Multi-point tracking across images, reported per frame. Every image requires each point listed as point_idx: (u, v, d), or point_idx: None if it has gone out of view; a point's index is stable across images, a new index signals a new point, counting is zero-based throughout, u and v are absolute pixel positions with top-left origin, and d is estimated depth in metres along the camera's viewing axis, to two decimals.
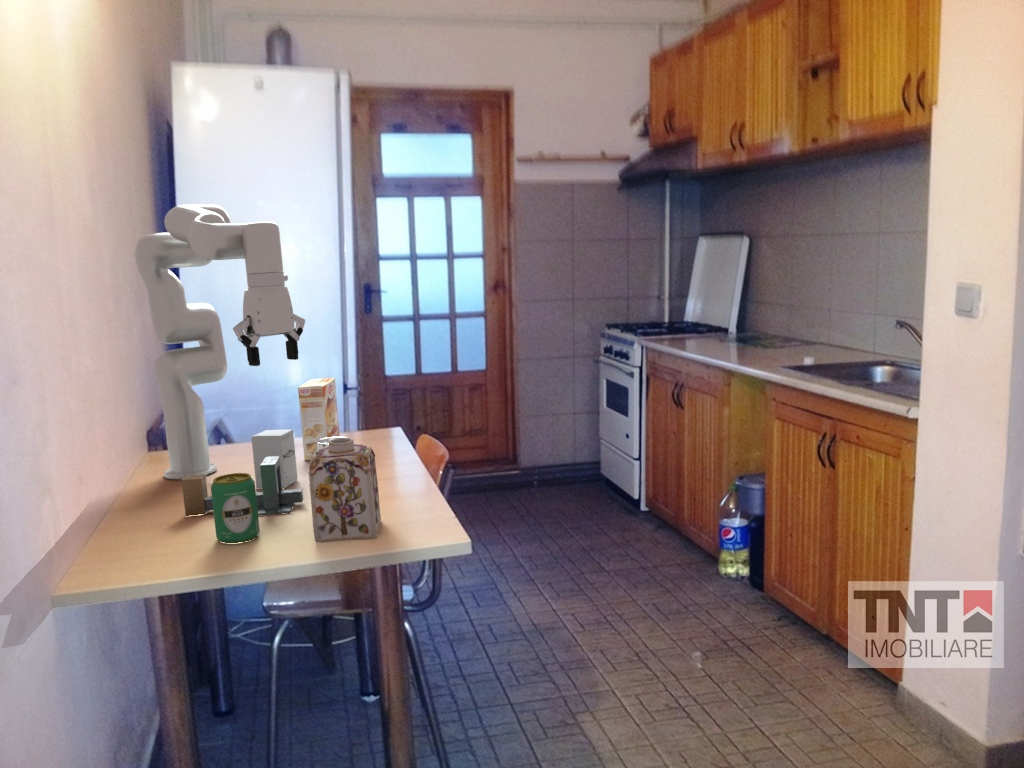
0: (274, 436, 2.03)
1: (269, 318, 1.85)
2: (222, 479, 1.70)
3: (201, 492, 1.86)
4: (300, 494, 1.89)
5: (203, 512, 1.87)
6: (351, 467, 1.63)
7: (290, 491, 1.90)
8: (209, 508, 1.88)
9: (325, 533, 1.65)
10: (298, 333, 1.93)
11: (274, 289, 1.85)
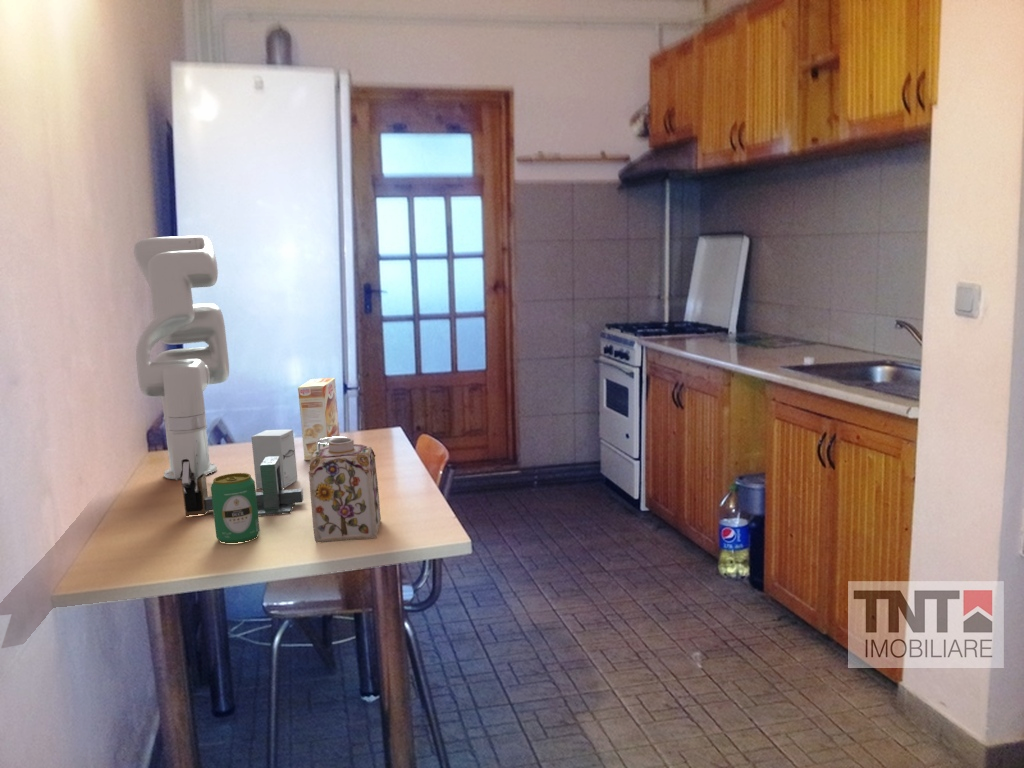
0: (274, 436, 2.03)
1: (200, 459, 1.85)
2: (222, 479, 1.70)
3: (201, 492, 1.86)
4: (300, 494, 1.89)
5: (203, 512, 1.87)
6: (351, 467, 1.63)
7: (290, 491, 1.90)
8: (209, 508, 1.88)
9: (325, 533, 1.65)
10: None
11: (200, 429, 1.86)
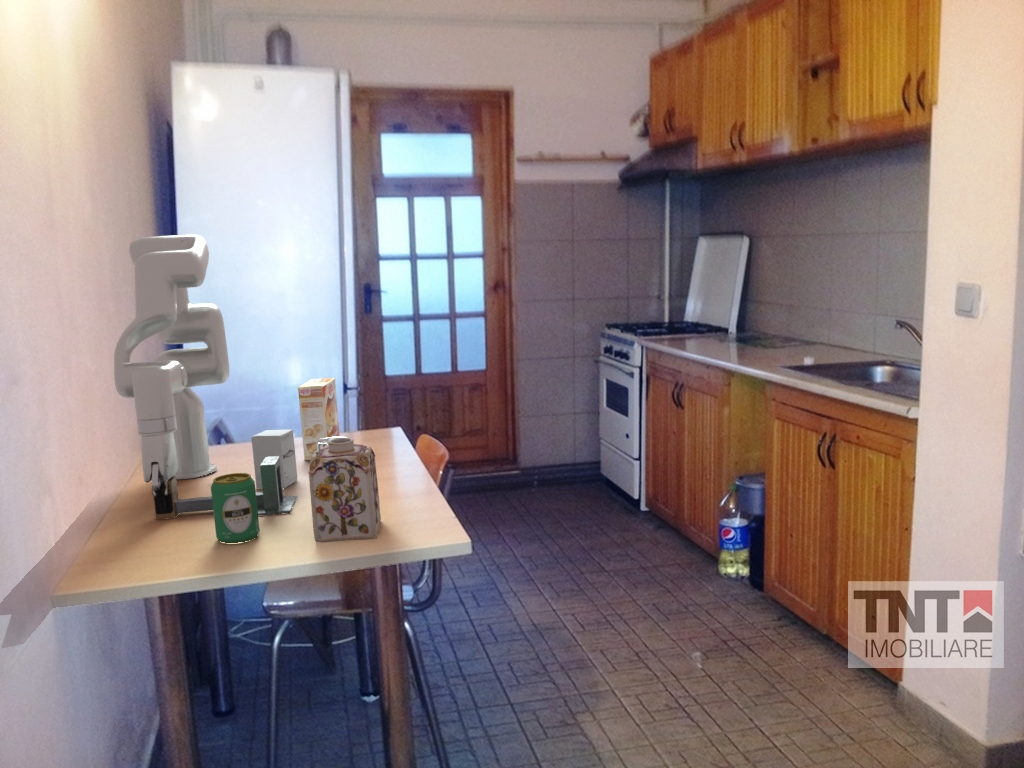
0: (274, 436, 2.03)
1: (170, 461, 1.85)
2: (222, 479, 1.70)
3: (171, 495, 1.85)
4: None
5: (173, 515, 1.86)
6: (351, 467, 1.63)
7: (261, 493, 1.89)
8: (180, 511, 1.87)
9: (325, 533, 1.65)
10: None
11: None
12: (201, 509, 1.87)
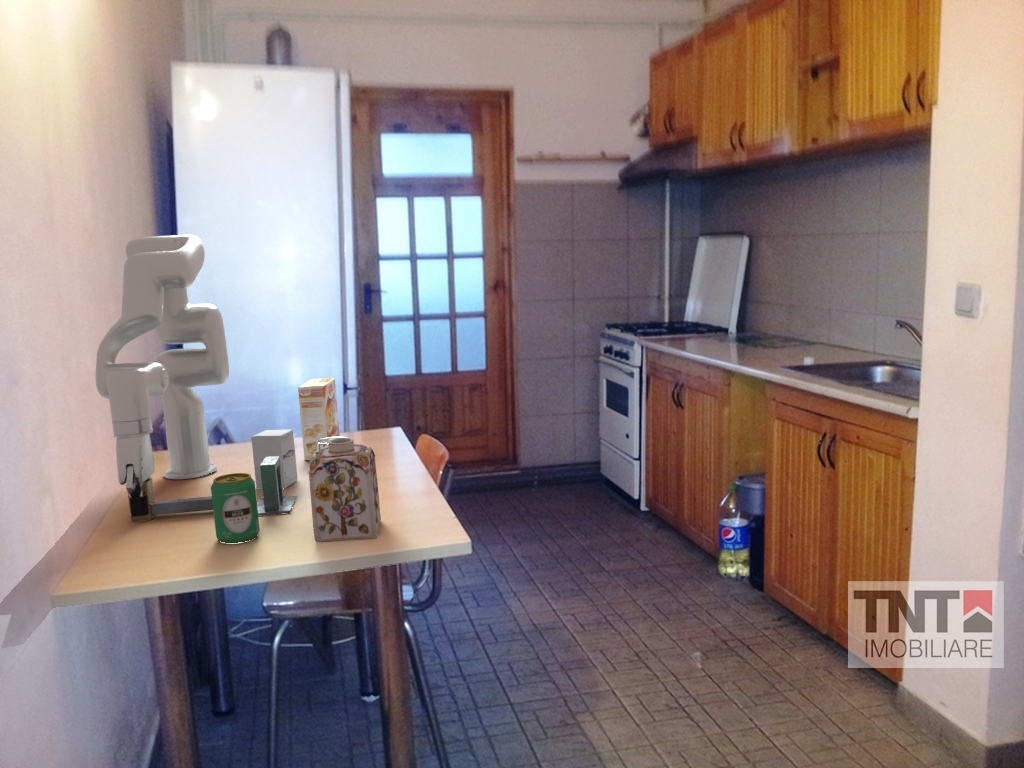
0: (274, 436, 2.03)
1: (145, 463, 1.84)
2: (222, 479, 1.70)
3: (147, 497, 1.85)
4: None
5: (149, 517, 1.86)
6: (351, 467, 1.63)
7: None
8: (155, 513, 1.86)
9: (325, 533, 1.65)
10: None
11: (146, 434, 1.85)
12: (177, 511, 1.87)
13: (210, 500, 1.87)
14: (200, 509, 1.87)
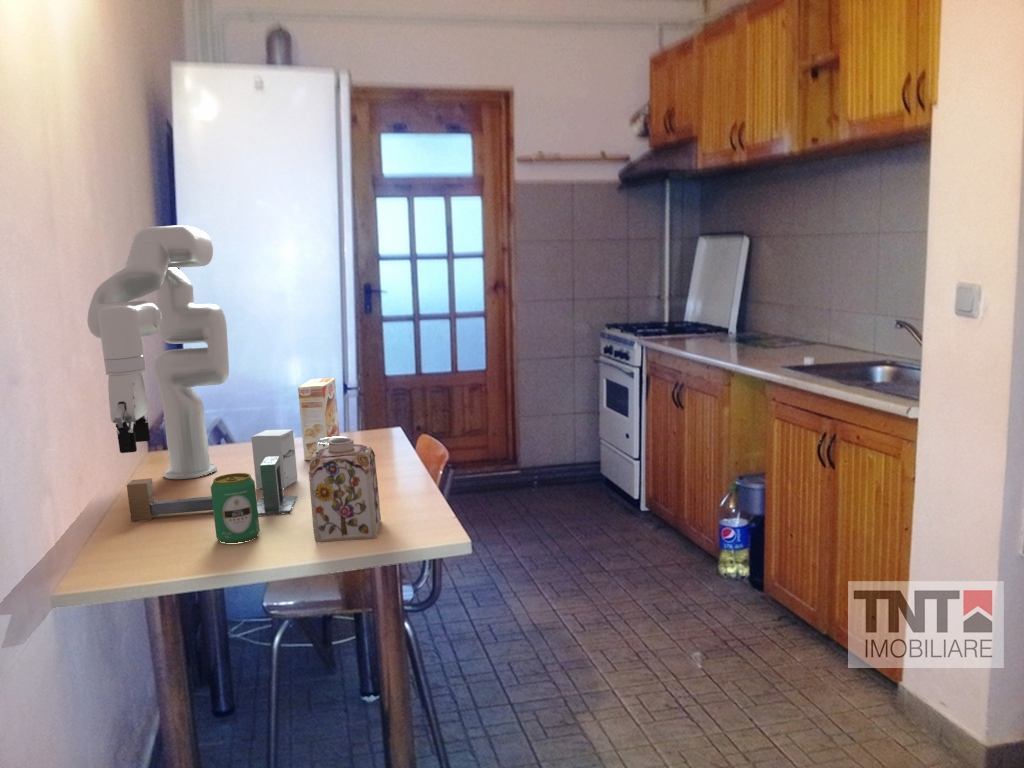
0: (274, 436, 2.03)
1: (138, 402, 1.82)
2: (222, 479, 1.70)
3: (147, 497, 1.85)
4: None
5: (149, 517, 1.86)
6: (351, 467, 1.63)
7: None
8: (155, 513, 1.86)
9: (325, 533, 1.65)
10: None
11: (139, 372, 1.83)
12: (177, 511, 1.87)
13: (210, 500, 1.87)
14: (200, 509, 1.87)
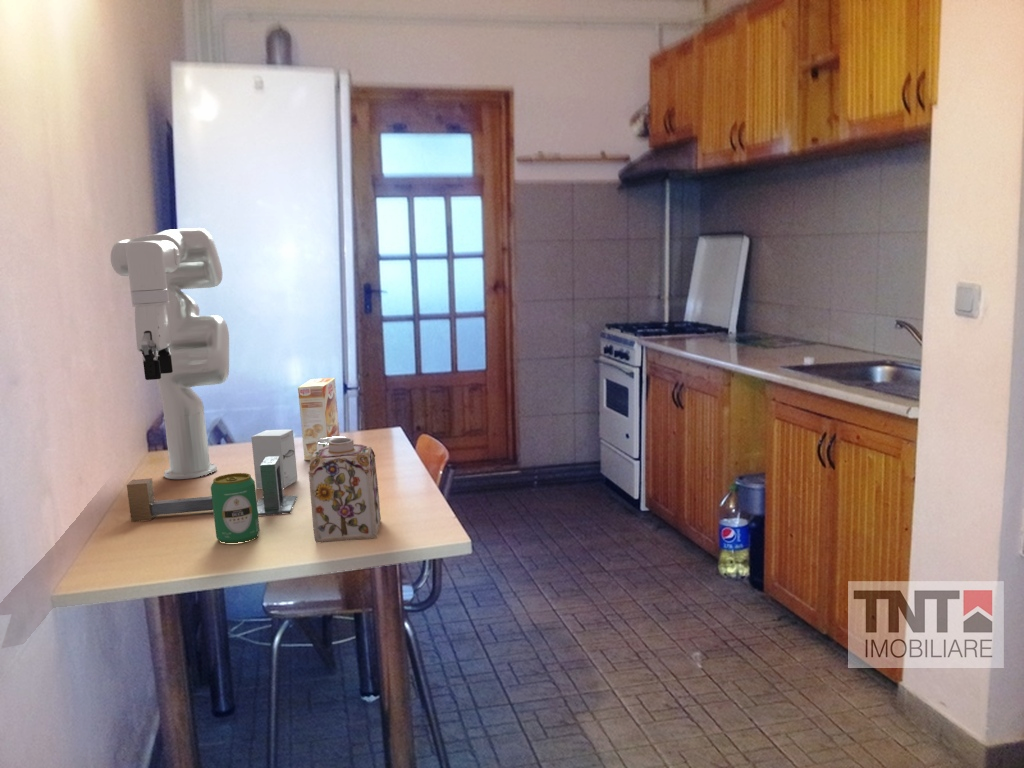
0: (274, 436, 2.03)
1: (162, 333, 1.93)
2: (222, 479, 1.70)
3: (147, 497, 1.85)
4: None
5: (149, 517, 1.86)
6: (351, 467, 1.63)
7: None
8: (155, 513, 1.86)
9: (325, 533, 1.65)
10: None
11: (163, 305, 1.94)
12: (177, 511, 1.87)
13: (210, 500, 1.87)
14: (200, 509, 1.87)
